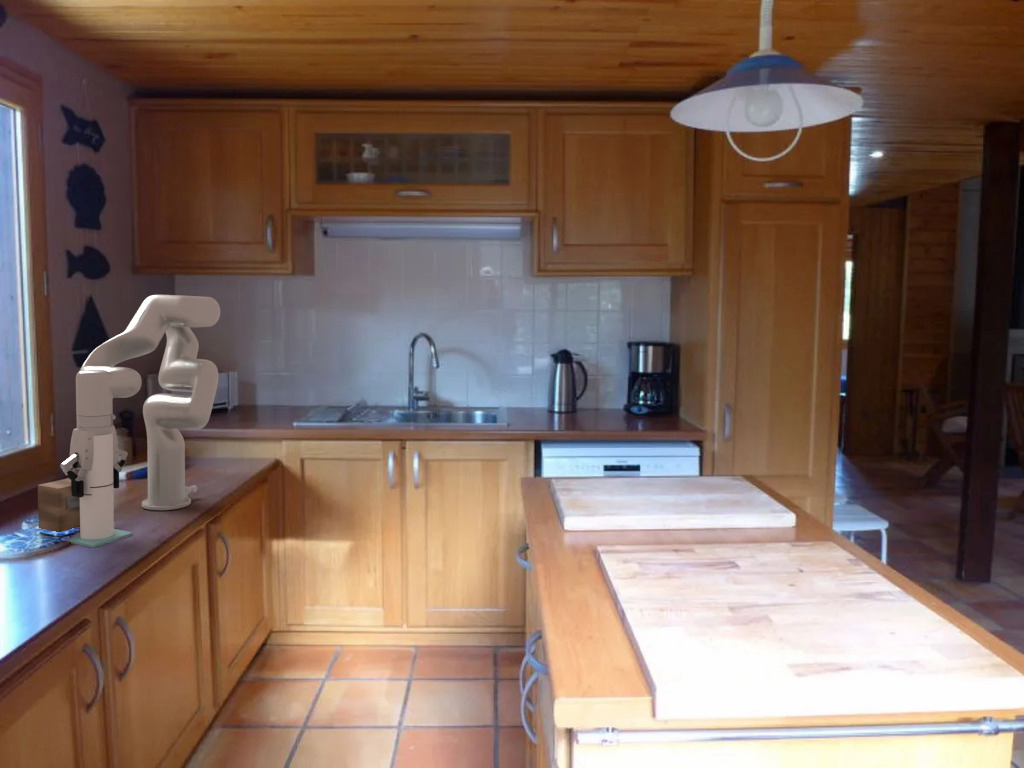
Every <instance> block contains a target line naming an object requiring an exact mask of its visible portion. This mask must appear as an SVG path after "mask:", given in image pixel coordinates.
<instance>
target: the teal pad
mask: <svg viewBox="0 0 1024 768" xmlns="http://www.w3.org/2000/svg"><path fill="white" fill-rule="evenodd" d="M132 534H133V535H134V532H133V531H127V530H122V529H117V528H114V535H112V536H110V537H107V538H103V539H94V540H88V539H82V538H81V537H80V533H79V534H78V535H76V536H75V537H73V538H72V539H70V540H69V541H70V542H71V543H70V544H74V545H79V546H83V547H89V548H93V549H94V548H97V547H100V546H103V545H105V543H106V544H109V543H112V542H115V541H118V539H119V540H121V539H120V538H122V539H124V538H123V537H125V538H127V537H126V536H128V537H130V536H129V535H131V536H133V535H132ZM111 541H112V542H111ZM108 542H109V543H108Z"/></svg>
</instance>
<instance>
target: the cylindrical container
mask: <svg viewBox="0 0 1024 768" xmlns="http://www.w3.org/2000/svg"><path fill="white" fill-rule="evenodd" d="M93 439H94V456H93V465H92V470H90V471H86V472H85V474H84V476H83V477H82V479H81V480H83V482H84V496H83V497H81V498H80V531H79V532H80V537H81V538H82V539H88V540H94V539H103V538H107V537H110V536H112V535H114V529H115V516H114V515H115V512H114V511H115V510H114V509H115V506H114V503H115V501H114V500H115V499H114V496H115V495H114V490H115V488H113V433H108V434H103V435H96V436H93ZM80 467H81V465H80Z"/></svg>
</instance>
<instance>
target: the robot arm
mask: <svg viewBox="0 0 1024 768" xmlns="http://www.w3.org/2000/svg"><path fill="white" fill-rule="evenodd" d="M220 317H221V307H220V304H219V303H218V301H217V300H216V299H214V297H212V296H202V295H201V296H198V295H196V296H195V295H194V296H193V295H180V294H179V295H175V294H174V295H173V294H153V295H149V296H147V297H146V298H145V299H144V300H143V301H142V303H141V304H140V306H139V307H138V309H137V311H136V312H135V314H134V315H133V317H132V318H131V320H130V321H129V323H128V325H127V327H126V328H125V330H124V331H123V332H121V333H120V334H117V335H115V336H114V337H112V338H110V339H108V340H106V341H105V342H103V343H102V344H100V345H99V346H97V347H96V348H95V349H93V350H92V352H91V353H89V355H88V356H87V358H86V360H85V361H84V362H83V363H82V366H80V367H81V368H80V369H79V371H78V372H77V373H76V375H75V402H76V403H75V404H76V407H75V408H76V409H75V411H76V428H73V430H72V434H71V438H70V447H69V457H68V458H66V460H64V461H63V462H62V463H60V465H59V466H60V469H61V470H62V472H63V475H64V476H65V477H67V478H68V479H69V480H71V492H72V496H75V497H80V498H81V497H83V496H84V482H83V480H81V479H82V477H83V476H84V474H85V472H86V471H90V470H92V465H93V456H94V439H93V436H96V435H103V434H108V433H113V489H119V488H120V472H122V468H123V466H124V465H125V464H126V461H125V460H127V457H128V454H129V453H128V452H127V451H125V450H123V449H121V448H119V442H118V436H117V432H116V431H117V429H116V427H115V425H114V420H116V415H115V414H114V412H113V411H114V410H113V408H114V407H113V399H114V398H115V399H116V398H117V399H118V398H119V399H121V398H126V399H127V398H130V397H133V396H135V395H136V394H137V393H138V392H139V391H140V390H141V387H142V383H143V382H142V377H141V374H140V373H139V372H138V371H136V370H135V369H134V368H130V367H124V366H116V365H118V364H119V363H122V362H124V361H128V360H131V359H135V358H138V357H142V356H144V355H148V354H151V353H152V352H153V351H155V350H156V349H157V347H158V345H159V344H160V342H161V340H162V339H163V337H164V335H166V345H165V349H164V353H163V357H162V361H161V364H160V368H159V372H158V384H159V386H160V388H162V389H164V390H166V391H171V392H172V391H173V392H182V393H183V392H186V393H191V394H179V393H165V392H164V393H155V394H153V395H151V396H149V397H147V398H146V400H145V401H144V403H143V407H142V415H143V420H144V424H145V430H146V438H147V439H146V440H147V442H146V443H147V446H146V447H147V448H146V449H147V498H146V499H144V500H142V501H141V507H142V508H143V509H146V510H150V511H169V510H170V511H171V510H177V509H182V508H186V507H188V506H189V505H190V504H192V499H191V497H189V496H188V495H190V494H192V493H196V492H197V491H198V487H197V485H194V484H193V485H190V486H187V485H186V483H185V482H186V469H185V468H186V462H185V461H186V454H185V453H186V451H185V450H186V444H185V440H184V437H183V435H182V433H181V432H180V430H200V429H203V428H205V427H206V426H207V424H208V423H209V421H210V417H211V413H212V410H213V405H214V401H215V398H216V395H217V394H216V393H217V389H218V385H219V371H218V367H217V365H216V364H215V363H214V362H213V361H212V360H208V359H203V358H197V357H198V352H199V349H200V347H199V341H198V339H197V336H196V335H195V333H194V332H193V331H192V329H191V328H209V327H212V326H214V325H216V324H217V323H218V322H219V319H220ZM179 429H180V430H179ZM80 465H81V467H80Z"/></svg>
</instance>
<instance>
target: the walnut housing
mask: <svg viewBox="0 0 1024 768" xmlns="http://www.w3.org/2000/svg"><path fill="white" fill-rule="evenodd" d="M37 506H38V508H37V509H38V510H37V511H38V514H37V515H38V519H37V520H38V529H39V528H41V529H48V530H51V531H56V532H62V531H65V530H69V529H72V528H76V527H80V497H75V496H72V492H71V480H69V479H68V477H67V478H64V479H59V480H54V481H49V482H45V483H40V484H37Z"/></svg>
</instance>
